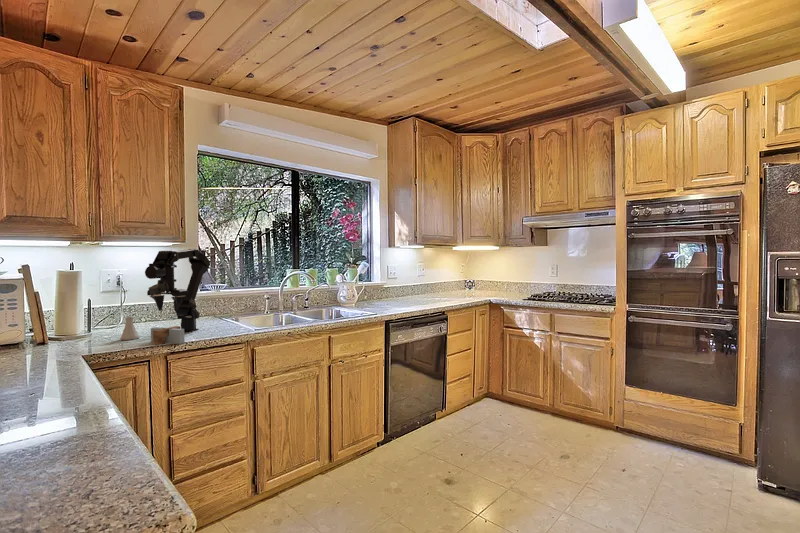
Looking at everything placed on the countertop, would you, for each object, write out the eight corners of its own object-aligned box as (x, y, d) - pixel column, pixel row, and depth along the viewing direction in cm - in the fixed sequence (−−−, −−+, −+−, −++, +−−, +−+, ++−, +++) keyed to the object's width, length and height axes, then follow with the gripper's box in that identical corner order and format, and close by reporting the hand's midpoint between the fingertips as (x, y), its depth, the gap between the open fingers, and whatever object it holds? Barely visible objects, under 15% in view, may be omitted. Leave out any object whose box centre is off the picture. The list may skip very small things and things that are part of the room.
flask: (117, 339, 188) (116, 317, 187) (133, 336, 194) (133, 315, 194) (125, 341, 184) (125, 318, 184) (142, 338, 190) (141, 316, 190)
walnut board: (176, 339, 187) (175, 326, 187) (180, 339, 187) (180, 326, 186) (153, 345, 176) (152, 330, 176) (157, 345, 175) (157, 331, 175)
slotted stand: (155, 340, 185) (155, 327, 185) (184, 342, 180) (184, 329, 180) (151, 341, 182) (150, 328, 182) (179, 344, 178) (179, 330, 177)
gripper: (136, 278, 188) (137, 312, 188) (168, 278, 182) (169, 314, 183) (157, 276, 199) (158, 309, 199) (188, 277, 193) (189, 310, 193)
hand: (168, 310), depth 193 cm, fingers open, 9 cm apart
